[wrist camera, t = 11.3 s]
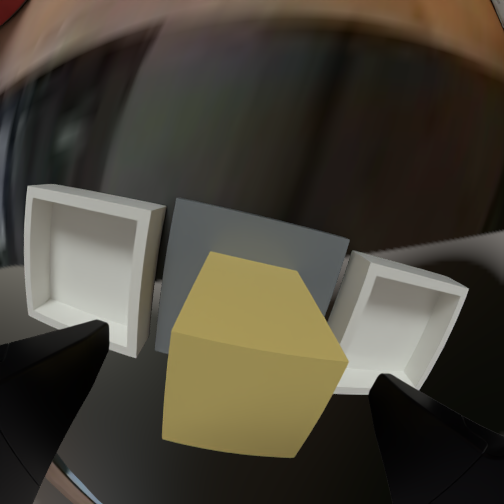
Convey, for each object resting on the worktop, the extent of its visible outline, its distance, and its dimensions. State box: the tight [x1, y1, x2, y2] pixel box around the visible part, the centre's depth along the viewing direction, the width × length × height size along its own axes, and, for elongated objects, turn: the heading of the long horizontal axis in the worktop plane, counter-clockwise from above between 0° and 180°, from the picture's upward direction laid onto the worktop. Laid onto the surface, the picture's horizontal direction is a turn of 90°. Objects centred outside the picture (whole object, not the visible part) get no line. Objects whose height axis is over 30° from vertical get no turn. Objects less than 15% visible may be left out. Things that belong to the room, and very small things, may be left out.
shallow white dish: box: [24, 184, 167, 358], centre depth 12 cm, size 7×7×2 cm
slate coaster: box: [155, 198, 350, 354], centre depth 13 cm, size 8×8×1 cm
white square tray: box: [327, 250, 469, 395], centre depth 13 cm, size 7×7×2 cm
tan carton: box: [162, 251, 349, 458], centre depth 9 cm, size 4×4×7 cm
